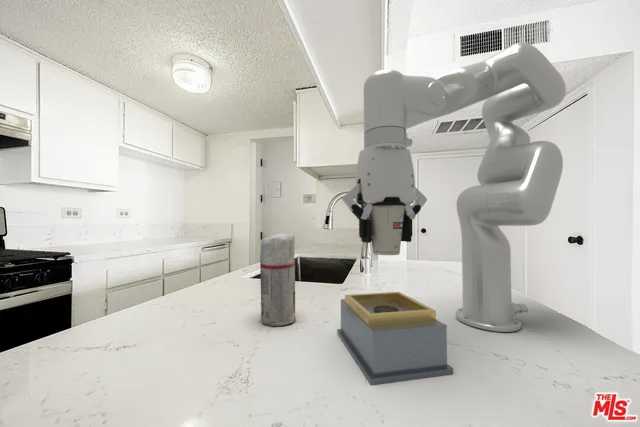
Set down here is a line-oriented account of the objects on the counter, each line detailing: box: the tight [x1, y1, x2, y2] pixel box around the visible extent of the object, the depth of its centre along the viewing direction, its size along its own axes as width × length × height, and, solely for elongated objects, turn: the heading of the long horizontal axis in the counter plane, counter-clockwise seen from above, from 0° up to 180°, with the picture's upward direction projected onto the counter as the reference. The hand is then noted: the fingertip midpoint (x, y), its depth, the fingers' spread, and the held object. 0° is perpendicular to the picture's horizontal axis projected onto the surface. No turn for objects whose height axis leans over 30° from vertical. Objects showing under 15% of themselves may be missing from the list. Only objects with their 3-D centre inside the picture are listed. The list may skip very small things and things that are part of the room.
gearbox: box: [336, 291, 454, 386], centre depth 46 cm, size 17×15×8 cm
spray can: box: [259, 233, 297, 327], centre depth 60 cm, size 8×8×20 cm
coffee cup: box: [369, 197, 406, 256], centre depth 47 cm, size 7×7×10 cm
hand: (386, 240), depth 47 cm, fingers closed on coffee cup, 7 cm apart
